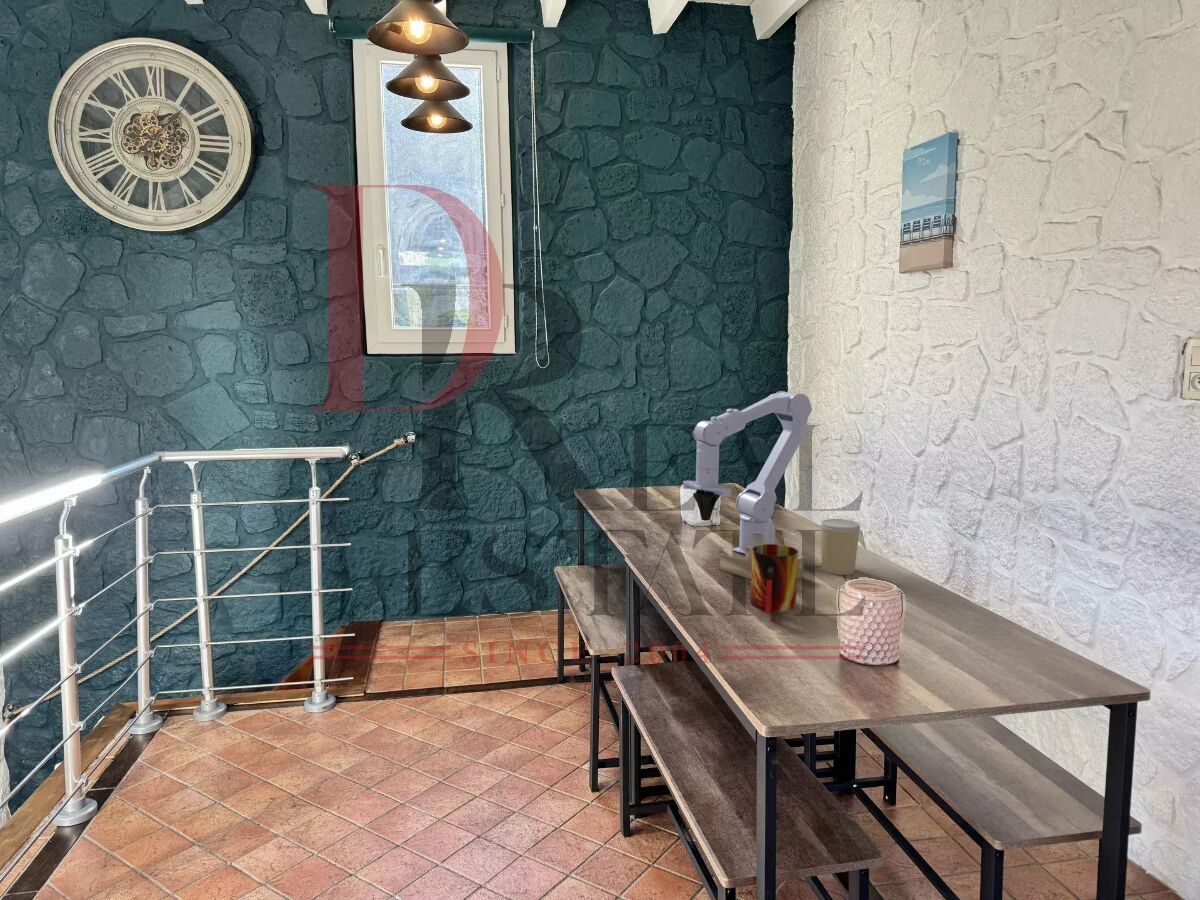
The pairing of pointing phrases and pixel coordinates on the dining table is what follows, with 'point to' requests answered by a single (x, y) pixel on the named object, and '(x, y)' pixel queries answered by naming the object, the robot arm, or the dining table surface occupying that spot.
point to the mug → (774, 577)
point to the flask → (756, 542)
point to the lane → (749, 565)
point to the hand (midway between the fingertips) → (705, 519)
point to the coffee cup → (839, 545)
